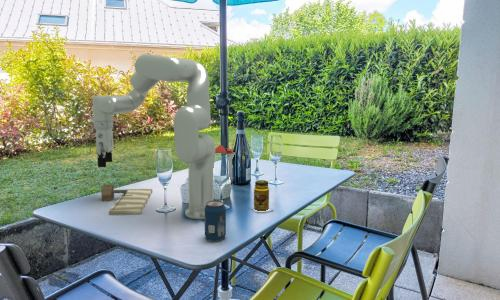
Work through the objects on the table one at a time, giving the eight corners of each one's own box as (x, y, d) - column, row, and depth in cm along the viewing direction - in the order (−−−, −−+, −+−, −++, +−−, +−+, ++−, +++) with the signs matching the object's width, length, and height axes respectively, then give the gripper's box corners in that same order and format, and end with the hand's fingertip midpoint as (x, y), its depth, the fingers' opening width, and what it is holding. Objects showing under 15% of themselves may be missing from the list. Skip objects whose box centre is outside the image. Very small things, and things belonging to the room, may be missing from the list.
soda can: (209, 232, 126) (209, 199, 124) (228, 235, 124) (228, 201, 122) (201, 240, 120) (200, 205, 117) (221, 243, 118) (221, 207, 116)
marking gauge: (125, 200, 159) (125, 187, 158) (101, 201, 158) (100, 187, 157) (128, 197, 164) (127, 184, 163) (104, 197, 163) (104, 184, 162)
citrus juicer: (198, 180, 193) (198, 143, 189) (230, 178, 199) (230, 141, 195) (205, 188, 179) (205, 148, 175) (239, 185, 184) (239, 146, 181)
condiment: (257, 213, 145) (257, 184, 143) (248, 207, 153) (248, 179, 151) (273, 211, 148) (274, 182, 146) (263, 205, 156) (264, 177, 154)
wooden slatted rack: (140, 213, 143) (140, 210, 143) (109, 214, 142) (108, 210, 142) (152, 191, 173) (152, 188, 172) (126, 192, 171) (125, 189, 171)
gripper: (107, 127, 147) (109, 169, 150) (117, 122, 164) (119, 160, 167) (87, 127, 146) (89, 169, 149) (100, 122, 163) (102, 160, 166)
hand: (105, 164), depth 158 cm, fingers open, 9 cm apart
